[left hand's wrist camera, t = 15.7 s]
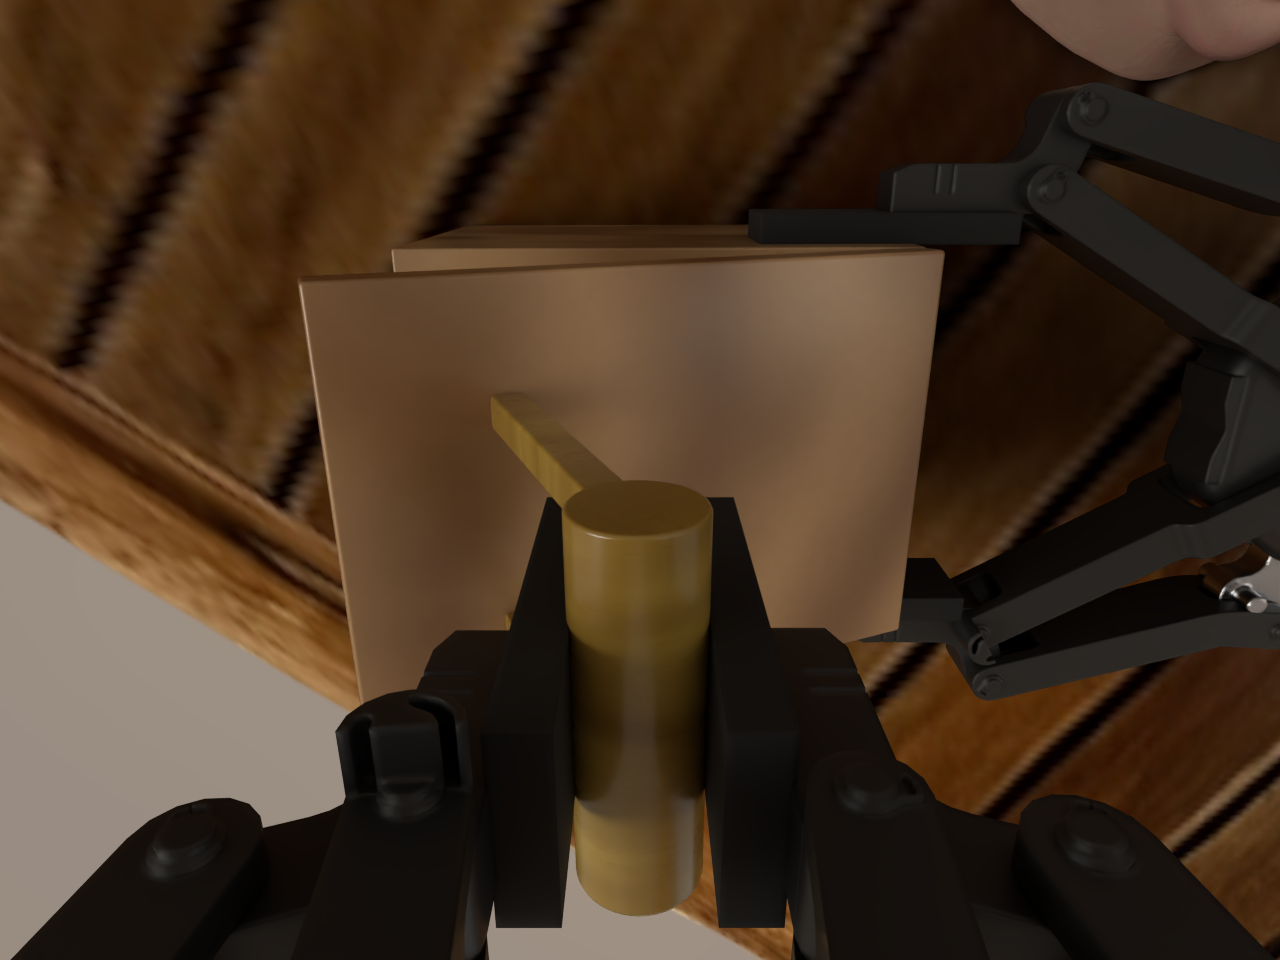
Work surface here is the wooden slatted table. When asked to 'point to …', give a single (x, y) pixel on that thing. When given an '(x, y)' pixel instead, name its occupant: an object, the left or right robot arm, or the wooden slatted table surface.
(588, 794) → the lid
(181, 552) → the wooden slatted table surface
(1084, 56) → the anatomical model
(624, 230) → the chest
